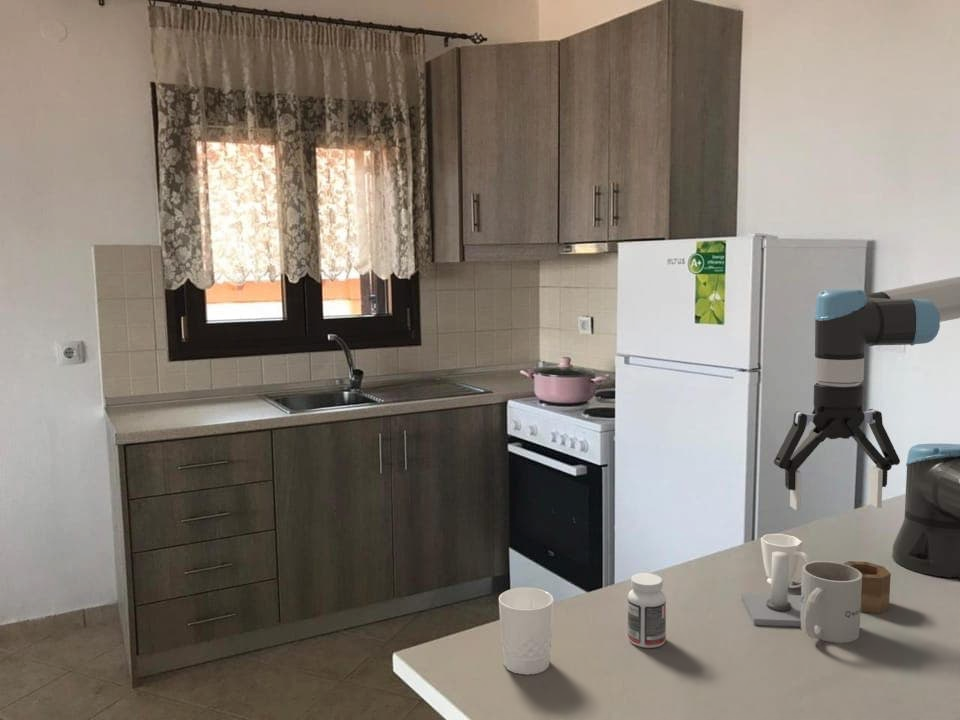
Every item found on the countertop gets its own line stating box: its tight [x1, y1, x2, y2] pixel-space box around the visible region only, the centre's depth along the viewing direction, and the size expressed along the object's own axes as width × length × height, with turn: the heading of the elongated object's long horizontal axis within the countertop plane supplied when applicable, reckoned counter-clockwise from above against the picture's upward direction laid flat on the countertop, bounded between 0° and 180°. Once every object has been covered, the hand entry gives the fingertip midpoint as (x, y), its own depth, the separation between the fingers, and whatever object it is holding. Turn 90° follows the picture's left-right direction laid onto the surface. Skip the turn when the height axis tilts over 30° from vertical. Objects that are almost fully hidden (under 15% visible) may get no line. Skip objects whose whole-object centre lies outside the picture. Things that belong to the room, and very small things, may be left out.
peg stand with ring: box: [741, 552, 801, 628], centre depth 132 cm, size 10×10×10 cm
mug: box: [799, 560, 862, 643], centre depth 125 cm, size 12×9×10 cm
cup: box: [760, 533, 812, 589], centre depth 143 cm, size 7×10×8 cm
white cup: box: [498, 587, 554, 676], centre depth 117 cm, size 8×8×10 cm
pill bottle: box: [627, 572, 667, 649], centre depth 123 cm, size 6×6×10 cm
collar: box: [842, 560, 892, 614], centre depth 136 cm, size 7×7×6 cm
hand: (835, 507), depth 136 cm, fingers open, 13 cm apart
